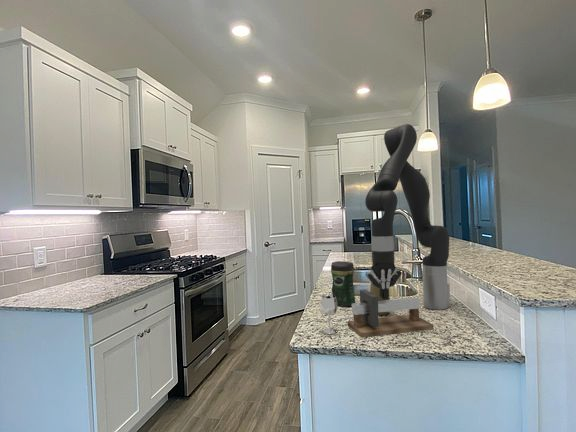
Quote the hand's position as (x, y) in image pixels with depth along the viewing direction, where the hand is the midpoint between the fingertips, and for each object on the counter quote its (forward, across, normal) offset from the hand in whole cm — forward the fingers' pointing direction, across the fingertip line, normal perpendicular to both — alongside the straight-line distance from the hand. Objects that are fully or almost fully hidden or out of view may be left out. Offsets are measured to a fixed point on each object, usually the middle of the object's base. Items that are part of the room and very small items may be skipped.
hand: (384, 298), depth 120 cm
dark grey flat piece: (+7, +6, 0) cm, 10 cm away
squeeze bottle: (+10, -5, -15) cm, 19 cm away
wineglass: (+10, +20, -2) cm, 22 cm away
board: (+10, -1, 0) cm, 10 cm away
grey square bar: (+4, 0, 0) cm, 4 cm away
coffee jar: (+10, +4, -31) cm, 33 cm away
